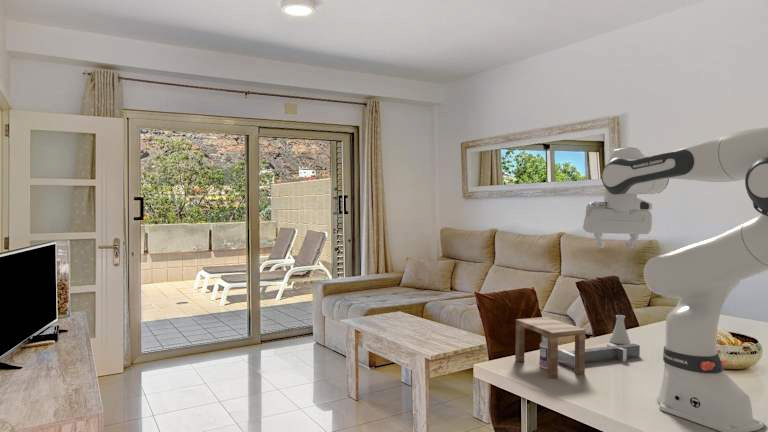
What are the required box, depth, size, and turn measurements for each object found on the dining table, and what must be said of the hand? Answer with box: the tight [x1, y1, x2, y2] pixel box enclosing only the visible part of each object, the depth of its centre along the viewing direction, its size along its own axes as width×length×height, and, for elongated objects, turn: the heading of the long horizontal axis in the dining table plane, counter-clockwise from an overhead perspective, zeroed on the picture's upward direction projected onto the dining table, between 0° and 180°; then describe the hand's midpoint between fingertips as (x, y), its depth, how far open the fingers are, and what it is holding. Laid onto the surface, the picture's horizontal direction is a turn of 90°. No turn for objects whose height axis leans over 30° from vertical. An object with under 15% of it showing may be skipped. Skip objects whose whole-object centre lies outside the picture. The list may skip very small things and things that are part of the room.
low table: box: [514, 316, 586, 380], centre depth 156 cm, size 18×12×14 cm, turn 20°
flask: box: [609, 314, 631, 345], centre depth 185 cm, size 7×7×10 cm
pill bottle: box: [539, 335, 559, 370], centre depth 156 cm, size 5×5×10 cm
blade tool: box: [558, 343, 641, 370], centre depth 163 cm, size 8×30×4 cm, turn 110°
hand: (614, 248), depth 150 cm, fingers open, 8 cm apart
